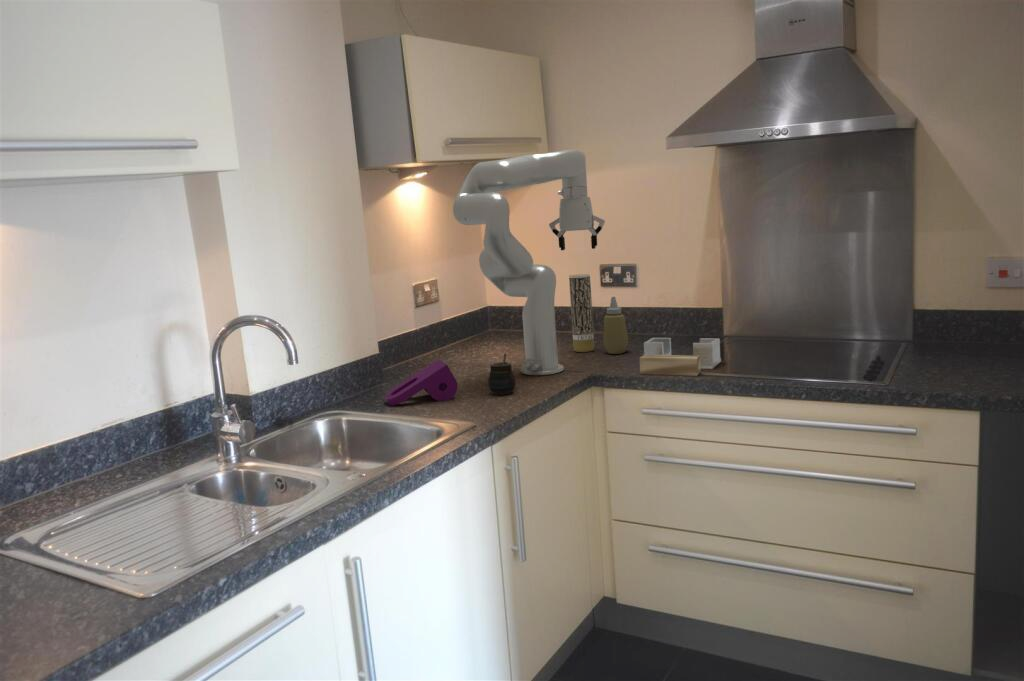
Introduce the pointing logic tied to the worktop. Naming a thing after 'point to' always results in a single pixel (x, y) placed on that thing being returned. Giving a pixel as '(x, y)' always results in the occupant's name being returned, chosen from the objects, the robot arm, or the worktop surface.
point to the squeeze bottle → (615, 330)
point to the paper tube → (581, 312)
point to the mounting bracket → (426, 384)
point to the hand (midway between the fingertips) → (578, 249)
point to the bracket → (704, 349)
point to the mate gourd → (501, 378)
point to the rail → (670, 365)
